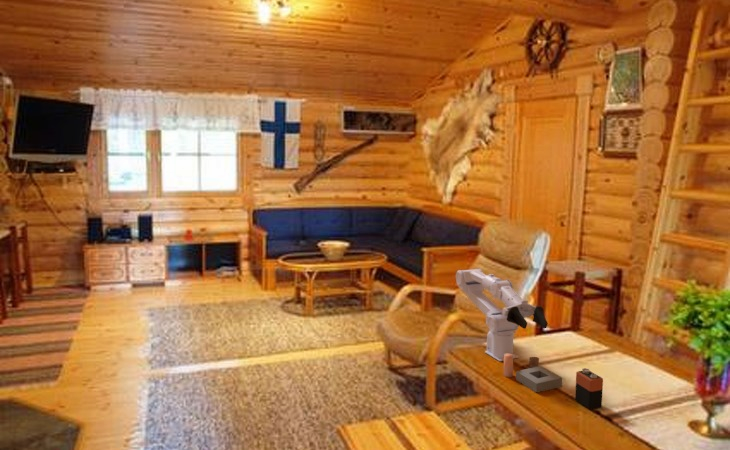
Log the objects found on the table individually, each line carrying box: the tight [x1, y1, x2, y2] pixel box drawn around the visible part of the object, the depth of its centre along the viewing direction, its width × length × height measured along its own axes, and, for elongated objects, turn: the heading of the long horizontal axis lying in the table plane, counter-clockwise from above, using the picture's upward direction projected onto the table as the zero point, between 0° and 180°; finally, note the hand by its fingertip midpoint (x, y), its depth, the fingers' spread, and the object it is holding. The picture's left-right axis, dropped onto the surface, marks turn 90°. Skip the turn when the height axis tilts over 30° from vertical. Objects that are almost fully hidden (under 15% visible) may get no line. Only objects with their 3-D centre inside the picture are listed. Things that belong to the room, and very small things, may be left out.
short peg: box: [528, 356, 540, 369], centre depth 187 cm, size 3×3×4 cm
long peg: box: [503, 353, 514, 378], centre depth 183 cm, size 3×3×7 cm
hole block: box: [515, 365, 563, 393], centre depth 177 cm, size 10×10×3 cm
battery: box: [574, 367, 604, 411], centre depth 162 cm, size 4×7×10 cm, turn 17°
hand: (535, 325), depth 177 cm, fingers open, 7 cm apart
